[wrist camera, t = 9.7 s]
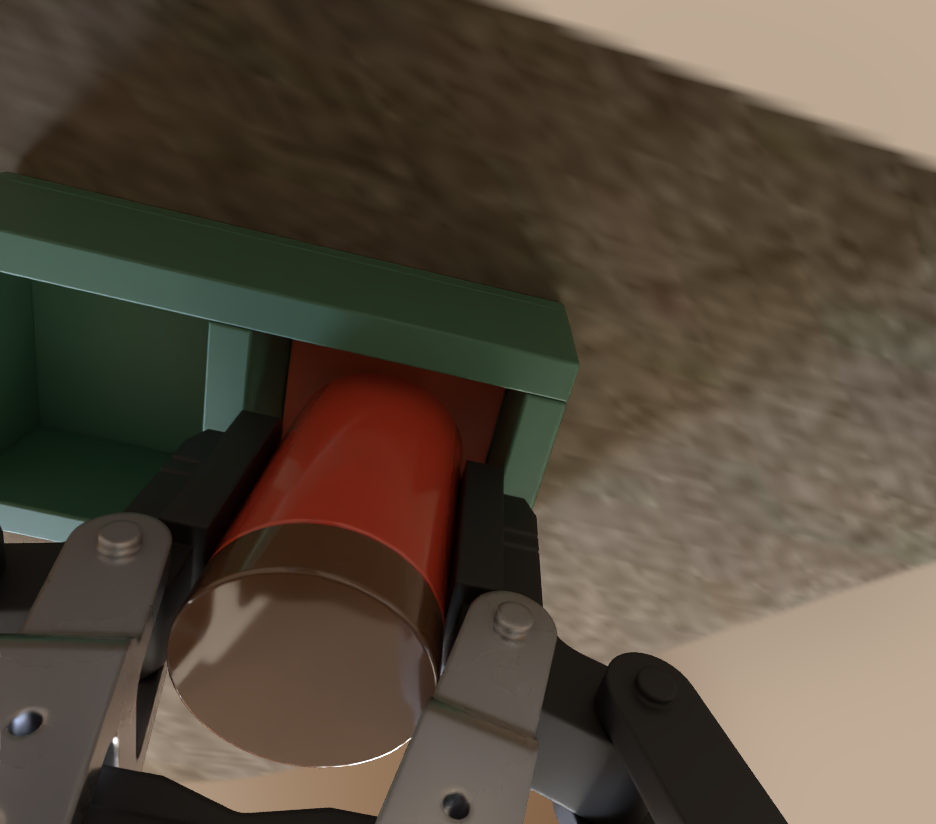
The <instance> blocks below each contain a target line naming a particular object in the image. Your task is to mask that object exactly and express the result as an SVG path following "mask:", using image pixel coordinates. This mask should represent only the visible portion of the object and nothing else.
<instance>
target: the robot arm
mask: <svg viewBox="0 0 936 824" xmlns="http://www.w3.org/2000/svg"><path fill="white" fill-rule="evenodd" d="M282 433H283V420H282V419H281V418H278V417H273V416H269V415H264V414H260V413H255V412H251V411H246V410H242V411H241V412H240V413H239V414H238V416H237V417H236V418H235V420H234V421H233V422H232V423H231V425H230V426H229V427H228V429H227V430H226V431H225V432H221V431H217V430H212V429H207V430H205V431H203V432H200V433H198V434H196V435H194V436H192V437H190V438H188V439H186V440H185V441H184V442H183V443H182V444H181V446H180V447H179V448H178V449H177V450H176V451H175V452H174V454H173V455H172V458H169V459H168V461H167V462H166V463H165V464H164V465H163V466H162V467H161V471H158V472H157V473H156V474H155V475H154V477H153V478H152V479H151V480H150V481H149V482H148V483H147V485H146V486H145V487H144V488H143V489H142V490H141V492H140V493H139V494H138V495H137V496H136V497H135V498H134V500H133V501H132V502H131V503H130V504H129V505H128V506H127V508H126V509H125V510H124V511H123V512H120V513H111V514H106V515H102V516H98V517H95V518H93V519H90V520H88V521H86V522H84V523H82V524H81V525H80V526H78V527H77V528H76V529H75V530H74V531H72V532H71V534H70V535H69V537H68V538H67V540H66V541H65V542H56V543H4V538H3V530H2V528H1V526H0V824H523V820H524V816H525V810H526V806H527V802H528V797H529V792H530V789H531V790H533V791H535V792H537V793H538V794H540V795H542V796H544V797H546V798H548V799H549V800H551V801H553V807H554V811H555V814H556V817H557V819H558V822H559V824H788V823H787V821H786V820H785V819H784V817H783V816H782V814H781V813H780V811H779V810H778V808H777V807H776V805H775V804H774V803H773V801H772V800H771V799H770V797H769V795H768V794H767V793H766V791H765V790H764V788H763V787H762V785H761V784H760V782H759V781H758V780H757V778H756V777H755V775H754V774H753V772H752V771H751V769H750V768H749V767H748V765H747V764H746V762H745V761H744V760H743V758H742V756H741V755H740V754H739V752H738V751H737V749H736V748H735V747H734V745H733V744H732V742H731V741H730V739H729V738H728V736H727V735H726V733H725V732H724V731H723V729H722V728H721V726H720V725H719V723H718V722H717V720H716V719H715V718H714V716H713V715H712V713H711V712H710V711H709V709H708V708H707V706H706V705H705V703H704V702H703V700H702V699H701V697H700V696H699V695H698V693H697V692H696V690H695V689H694V687H693V686H692V685H691V684H690V682H689V681H688V679H687V678H686V677H685V676H683V674H682V673H681V672H679V671H678V670H677V669H676V668H674V667H673V666H671V665H670V664H668V663H667V662H665V661H663V660H661V659H659V658H657V657H654V656H652V655H648V654H644V653H637V652H630V653H624V654H621V655H619V656H617V657H615V658H614V659H613V660H612V661H611V662H610V663H609V665H608V666H606V665H604V664H602V663H600V662H597V661H595V660H593V659H591V658H589V657H587V656H585V655H583V654H581V653H579V652H577V651H575V650H574V649H572V648H571V647H569V646H568V645H566V644H565V643H564V642H563V641H562V640H561V639H560V638H559V637H558V636H557V630H556V626H555V623H554V621H553V620H552V618H551V616H550V615H549V614H548V612H547V611H546V610H545V609H544V608H543V603H542V588H541V574H540V560H539V553H538V550H539V546H538V538H537V535H538V532H537V518H536V515H535V514H534V512H533V511H532V509H531V507H530V506H529V504H528V503H527V501H526V500H525V499H524V498H520V497H515V496H511V495H506V494H504V469H503V468H501V467H497V466H492V465H488V464H483V463H479V462H474V461H470V460H467V461H466V464H465V467H464V471H463V474H462V478H461V482H460V490H459V499H458V509H457V518H456V527H455V536H454V545H453V555H452V564H451V573H450V582H449V591H448V601H447V610H446V620H445V635H444V646H443V655H442V665H441V674H440V680H439V682H438V684H437V687H436V689H435V692H434V694H433V696H429V698H428V700H427V702H426V704H425V706H424V708H423V711H422V713H421V715H420V718H419V720H418V722H417V725H416V727H415V730H414V732H413V734H412V737H411V739H410V742H409V744H408V746H407V749H406V751H405V754H404V756H403V758H402V761H401V763H400V765H399V768H398V770H397V773H396V775H395V777H394V780H393V782H392V784H391V787H390V789H389V791H388V794H387V796H386V799H385V801H384V803H383V806H382V808H381V810H380V813H379V815H378V817H377V816H371V815H366V814H361V813H356V812H351V811H345V810H340V809H335V808H315V809H301V810H287V811H272V812H258V813H240V812H236V811H233V810H231V809H229V808H227V807H225V806H223V805H221V804H219V803H217V802H215V801H213V800H210V799H209V798H206V797H204V796H202V795H201V794H199V793H197V792H194V791H193V790H190V789H188V788H186V787H184V786H182V785H180V784H178V783H176V782H174V781H172V780H170V779H168V778H166V777H164V776H161V775H155V774H150V773H145V772H141V771H142V767H143V763H144V760H145V756H146V752H147V748H148V744H149V740H150V736H151V732H152V728H153V724H154V721H155V717H156V713H157V709H158V705H159V701H160V697H161V693H162V689H163V685H164V682H165V678H166V673H167V658H166V645H167V637H168V632H169V629H170V626H171V623H172V621H173V619H174V617H175V616H176V614H177V612H178V610H179V609H180V607H181V605H182V604H183V602H184V600H185V599H186V597H187V595H188V594H189V592H190V590H191V589H192V587H193V586H194V584H195V582H196V581H197V579H198V577H199V576H200V574H201V572H202V571H203V569H204V567H205V566H206V565H207V563H208V561H209V559H210V558H211V556H212V554H213V553H214V551H215V549H216V548H217V546H218V544H219V543H220V541H221V540H222V538H223V536H224V535H225V533H226V531H227V530H228V528H229V526H230V525H231V523H232V521H233V520H234V518H235V517H236V515H237V513H238V512H239V510H240V508H241V507H242V505H243V503H244V502H245V500H246V498H247V497H248V495H249V493H250V492H251V490H252V489H253V487H254V485H255V484H256V482H257V480H258V479H259V477H260V475H261V474H262V472H263V470H264V469H265V467H266V466H267V464H268V462H269V461H270V459H271V457H272V456H273V454H274V452H275V451H276V449H277V447H278V446H279V444H280V443H281V441H282Z"/></svg>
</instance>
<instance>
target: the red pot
mask: <svg viewBox="0 0 936 824" xmlns="http://www.w3.org/2000/svg"><path fill="white" fill-rule="evenodd" d="M462 467H463V444H462V439H461V436H460V432H459V430H458V427H457V425H456V423H455V421H454V419H453V418H452V416H451V414H450V413H449V412H448V410H447V409H446V408H445V407H444V405H443V404H442V403H441V402H440V401H439V400H438V399H436V398H435V397H434V396H433V395H432V394H430V393H429V392H428V391H426V390H425V389H423V388H422V387H420V386H418V385H416V384H415V383H412V382H410V381H407V380H405V379H402V378H399V377H395V376H392V375H386V374H376V373H365V374H355V375H350V376H345V377H343V378H340V379H337V380H334V381H332V382H330V383H328V384H326V385H325V386H323V387H322V388H320V389H319V390H317V391H316V392H315V393H314V394H313V395H312V396H311V397H310V398H309V399H308V400H307V401H306V403H305V404H304V405H303V406H302V408H301V410H300V411H299V413H298V415H297V416H296V418H295V419H294V421H293V423H292V424H291V426H290V428H289V429H288V431H287V433H286V434H285V436H284V438H283V439H282V441H281V443H280V444H279V446H278V447H277V449H276V451H275V452H274V454H273V456H272V457H271V459H270V461H269V462H268V464H267V466H266V467H265V469H264V470H263V472H262V474H261V475H260V477H259V479H258V480H257V482H256V484H255V485H254V487H253V489H252V490H251V492H250V493H249V495H248V497H247V498H246V500H245V502H244V503H243V505H242V507H241V508H240V510H239V512H238V513H237V515H236V517H235V518H234V520H233V521H232V523H231V525H230V526H229V528H228V530H227V531H226V533H225V535H224V536H223V538H222V540H221V541H220V543H219V544H218V546H217V548H216V549H215V551H214V553H213V554H212V556H211V558H210V559H209V561H208V563H207V565H206V566H205V567H204V569H203V571H202V572H201V574H200V576H199V577H198V579H197V581H196V582H195V584H194V586H193V587H192V589H191V590H190V592H189V594H188V595H187V597H186V599H185V600H184V602H183V604H182V605H181V607H180V609H179V610H178V612H177V614H176V616H175V617H174V619H173V621H172V623H171V626H170V629H169V632H168V637H167V645H166V658H167V667H168V671H169V675H170V678H171V681H172V683H173V685H174V688H175V690H176V692H177V693H178V695H179V697H180V698H181V700H182V702H183V703H184V704H185V705H186V707H187V708H188V709H189V711H190V712H191V713H192V714H193V715H194V716H195V717H196V718H197V719H198V720H199V721H200V722H201V723H202V724H203V725H204V726H206V727H207V728H208V729H209V730H211V731H212V732H213V733H214V734H216V735H218V736H219V737H221V738H222V739H224V740H225V741H227V742H228V743H230V744H232V745H234V746H236V747H238V748H240V749H242V750H244V751H246V752H249V753H251V754H253V755H256V756H259V757H262V758H265V759H268V760H271V761H275V762H279V763H284V764H288V765H295V766H301V767H314V768H335V767H343V766H352V765H357V764H361V763H366V762H369V761H372V760H375V759H378V758H381V757H383V756H385V755H387V754H390V753H392V752H394V751H395V750H397V749H399V748H400V747H402V746H403V745H405V744H406V743H407V742H408V741H410V739H411V737H412V734H413V732H414V730H415V727H416V725H417V722H418V720H419V718H420V715H421V713H422V711H423V708H424V706H425V704H426V702H427V700H428V698H429V696H433V694H434V692H435V689H436V687H437V684H438V682H439V680H440V674H441V665H442V655H443V646H444V635H445V620H446V610H447V601H448V591H449V582H450V573H451V564H452V555H453V545H454V536H455V527H456V518H457V509H458V499H459V490H460V482H461V477H462Z"/></svg>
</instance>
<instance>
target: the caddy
mask: <svg viewBox="0 0 936 824" xmlns="http://www.w3.org/2000/svg"><path fill="white" fill-rule="evenodd" d="M579 366H580V365H579V360H578V356H577V352H576V349H575V345H574V341H573V337H572V333H571V329H570V326H569V322H568V318H567V314H566V312H565V308H564V305H563V304H562V303H558V302H554V301H550V300H545V299H541V298H537V297H533V296H529V295H524V294H520V293H516V292H512V291H508V290H503V289H499V288H495V287H491V286H487V285H482V284H478V283H474V282H470V281H466V280H461V279H457V278H453V277H449V276H444V275H440V274H436V273H432V272H428V271H423V270H419V269H415V268H411V267H407V266H402V265H398V264H394V263H390V262H386V261H381V260H377V259H373V258H369V257H364V256H360V255H356V254H352V253H348V252H343V251H339V250H335V249H331V248H327V247H322V246H318V245H314V244H310V243H306V242H301V241H297V240H293V239H289V238H285V237H280V236H276V235H272V234H268V233H263V232H259V231H255V230H251V229H247V228H242V227H238V226H234V225H230V224H226V223H221V222H217V221H213V220H209V219H205V218H200V217H196V216H192V215H188V214H183V213H179V212H175V211H171V210H167V209H162V208H158V207H154V206H150V205H146V204H141V203H137V202H133V201H129V200H125V199H120V198H116V197H112V196H108V195H104V194H99V193H95V192H91V191H87V190H82V189H78V188H74V187H70V186H66V185H61V184H57V183H53V182H49V181H45V180H40V179H36V178H32V177H28V176H24V175H19V174H15V173H11V172H3V173H0V526H1V528H2V530H3V531H7V532H12V533H16V534H21V535H26V536H31V537H36V538H41V539H45V540H50V541H55V542H65V541H66V540H67V538H68V537H69V535H70V534H71V532H72V531H74V530H75V529H76V528H77V527H78V526H80V525H81V524H82V523H84V522H86V521H88V520H90V519H93V518H95V517H98V516H102V515H106V514H111V513H120V512H123V511H124V510H125V509H126V508H127V506H128V505H129V504H130V503H131V502H132V501H133V500H134V498H135V497H136V496H137V495H138V494H139V493H140V492H141V490H142V489H143V488H144V487H145V486H146V485H147V483H148V482H149V481H150V480H151V479H152V478H153V477H154V475H155V474H156V473H157V472H158V471H161V467H162V466H163V465H164V464H165V463H166V462H167V461H168V459H169V458H172V455H173V454H174V452H175V451H176V450H177V449H178V448H179V447H180V446H181V444H182V443H183V442H184V441H185V440H186V439H188V438H190V437H192V436H194V435H196V434H198V433H200V432H203V431H205V430H207V429H212V430H217V431H221V432H225V431H226V430H227V429H228V427H229V426H230V425H231V423H232V422H233V421H234V420H235V418H236V417H237V416H238V414H239V413H240V412H241V411H242V410H246V411H251V412H255V413H260V414H264V415H269V416H273V417H278V418H281V419H282V420H283V433H282V439H283V438H284V436H285V434H286V433H287V431H288V429H289V428H290V426H291V424H292V423H293V421H294V419H295V418H296V416H297V415H298V413H299V411H300V410H301V408H302V406H303V405H304V404H305V403H306V401H307V400H308V399H309V398H310V397H311V396H312V395H313V394H314V393H315V392H316V391H317V390H319V389H320V388H322V387H323V386H325V385H326V384H328V383H330V382H332V381H334V380H337V379H340V378H343V377H345V376H350V375H355V374H365V373H376V374H386V375H392V376H395V377H399V378H402V379H405V380H407V381H410V382H412V383H415V384H416V385H418V386H420V387H422V388H423V389H425V390H426V391H428V392H429V393H430V394H432V395H433V396H434V397H435V398H436V399H438V400H439V401H440V402H441V403H442V404H443V405H444V407H445V408H446V409H447V410H448V412H449V413H450V414H451V416H452V418H453V419H454V421H455V423H456V425H457V427H458V430H459V432H460V436H461V439H462V444H463V467H462V474H463V471H464V467H465V464H466V461H467V460H470V461H474V462H479V463H483V464H488V465H492V466H497V467H501V468H503V469H504V494H506V495H511V496H515V497H520V498H524V499H525V500H526V501H527V503H528V504H529V506H530V507H531V509H532V508H533V505H534V502H535V499H536V496H537V493H538V490H539V487H540V484H541V481H542V478H543V475H544V472H545V469H546V466H547V463H548V460H549V457H550V454H551V450H552V447H553V444H554V441H555V438H556V435H557V432H558V429H559V426H560V423H561V420H562V417H563V414H564V411H565V408H566V401H568V399H569V396H570V393H571V390H572V387H573V384H574V381H575V378H576V375H577V372H578V369H579ZM461 478H462V477H461Z"/></svg>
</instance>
